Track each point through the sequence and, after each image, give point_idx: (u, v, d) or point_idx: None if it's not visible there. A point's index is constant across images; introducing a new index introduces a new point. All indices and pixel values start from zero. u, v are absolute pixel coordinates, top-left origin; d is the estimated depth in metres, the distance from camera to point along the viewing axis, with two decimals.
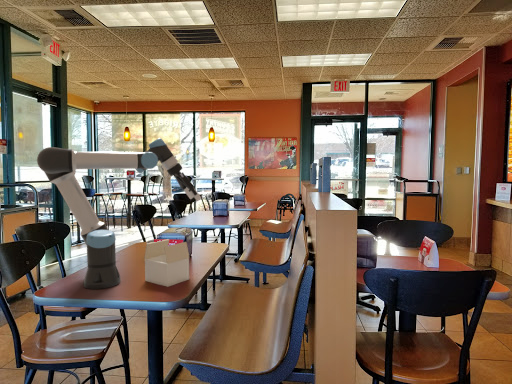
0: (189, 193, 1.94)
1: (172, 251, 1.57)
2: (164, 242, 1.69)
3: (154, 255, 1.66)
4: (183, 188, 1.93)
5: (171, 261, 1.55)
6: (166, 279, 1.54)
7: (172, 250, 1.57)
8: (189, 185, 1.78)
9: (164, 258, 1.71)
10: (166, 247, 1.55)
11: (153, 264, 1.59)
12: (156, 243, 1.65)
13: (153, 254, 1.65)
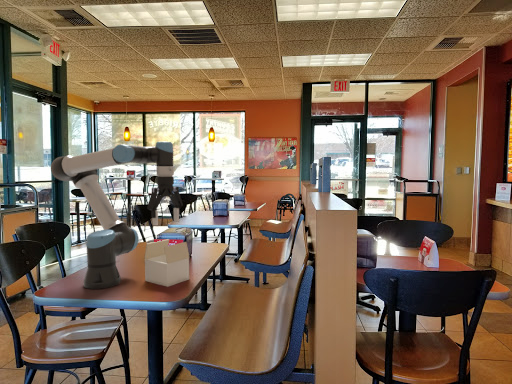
0: (175, 215, 1.67)
1: (172, 251, 1.57)
2: (164, 242, 1.69)
3: (154, 255, 1.66)
4: (175, 206, 1.68)
5: (171, 261, 1.55)
6: (166, 279, 1.54)
7: (172, 250, 1.57)
8: (149, 204, 1.55)
9: (164, 258, 1.71)
10: (166, 247, 1.55)
11: (153, 264, 1.59)
12: (156, 243, 1.65)
13: (153, 254, 1.65)
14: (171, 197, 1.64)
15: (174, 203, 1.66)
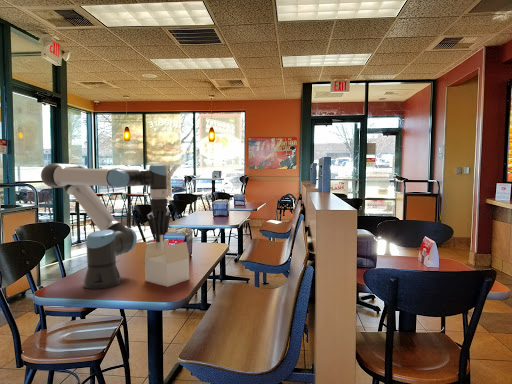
0: None
1: (172, 251, 1.57)
2: (164, 242, 1.69)
3: (154, 255, 1.66)
4: None
5: (171, 261, 1.55)
6: (166, 279, 1.54)
7: (172, 250, 1.57)
8: (152, 230, 1.62)
9: (164, 258, 1.71)
10: (166, 247, 1.55)
11: (153, 264, 1.59)
12: (156, 243, 1.65)
13: (152, 254, 1.65)
14: (161, 220, 1.65)
15: (160, 228, 1.66)
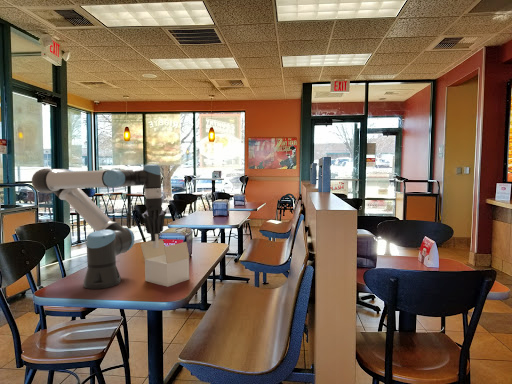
0: None
1: (172, 251, 1.57)
2: (159, 241, 1.71)
3: (153, 255, 1.67)
4: (154, 232, 1.68)
5: (171, 261, 1.55)
6: (166, 279, 1.54)
7: (172, 250, 1.57)
8: (147, 229, 1.64)
9: (164, 258, 1.71)
10: (166, 247, 1.55)
11: (153, 264, 1.59)
12: (150, 242, 1.68)
13: (151, 253, 1.66)
14: (156, 219, 1.67)
15: (155, 227, 1.67)
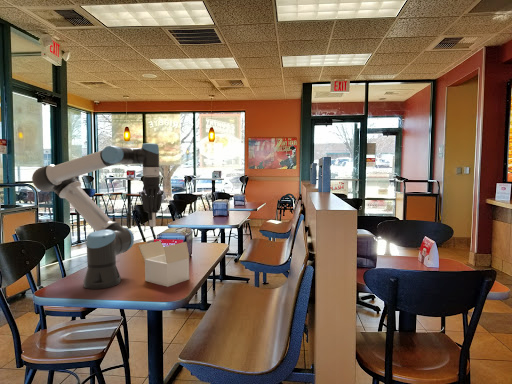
0: None
1: (172, 251, 1.57)
2: (156, 243, 1.72)
3: (153, 255, 1.67)
4: None
5: (171, 261, 1.55)
6: (166, 279, 1.54)
7: (172, 250, 1.57)
8: (144, 207, 1.64)
9: (164, 258, 1.71)
10: (166, 247, 1.55)
11: (153, 264, 1.59)
12: (148, 244, 1.69)
13: (151, 254, 1.66)
14: (153, 198, 1.67)
15: (153, 206, 1.68)
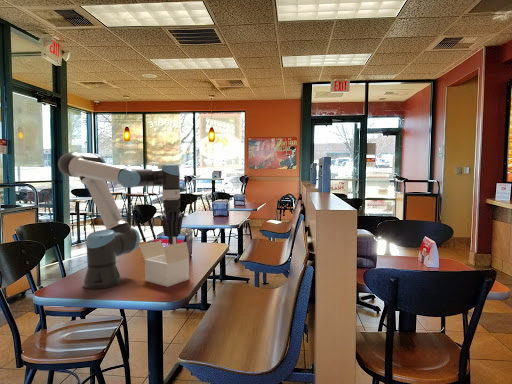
0: None
1: (172, 251, 1.57)
2: (156, 243, 1.72)
3: (153, 255, 1.67)
4: None
5: (171, 261, 1.55)
6: (166, 279, 1.54)
7: (172, 250, 1.57)
8: (165, 232, 1.57)
9: (164, 258, 1.71)
10: (166, 247, 1.55)
11: (153, 264, 1.59)
12: (148, 244, 1.69)
13: (151, 254, 1.66)
14: (173, 221, 1.60)
15: (173, 229, 1.61)
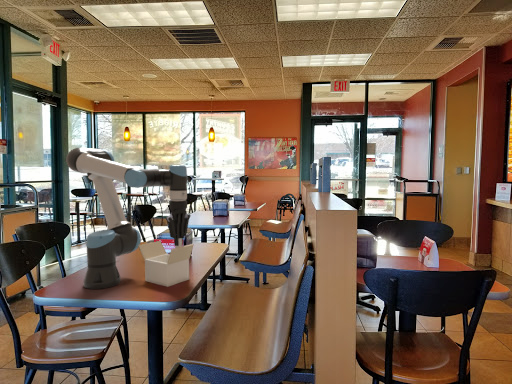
0: None
1: (177, 253, 1.55)
2: (156, 243, 1.72)
3: (153, 255, 1.67)
4: None
5: (172, 262, 1.55)
6: (166, 279, 1.54)
7: (177, 252, 1.55)
8: (171, 233, 1.55)
9: (164, 258, 1.71)
10: (173, 250, 1.52)
11: (153, 264, 1.59)
12: (148, 244, 1.69)
13: (151, 254, 1.66)
14: (180, 223, 1.58)
15: (179, 231, 1.59)
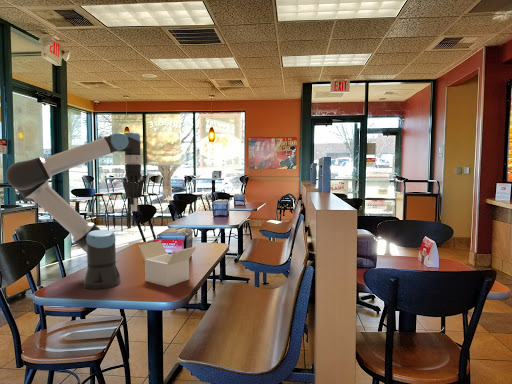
0: None
1: (178, 255, 1.55)
2: (156, 243, 1.72)
3: (153, 255, 1.67)
4: None
5: (172, 262, 1.55)
6: (166, 279, 1.54)
7: (179, 254, 1.55)
8: (126, 193, 1.75)
9: (164, 258, 1.71)
10: (175, 253, 1.51)
11: (153, 264, 1.59)
12: (148, 244, 1.69)
13: (151, 254, 1.66)
14: (135, 184, 1.78)
15: (134, 191, 1.79)
